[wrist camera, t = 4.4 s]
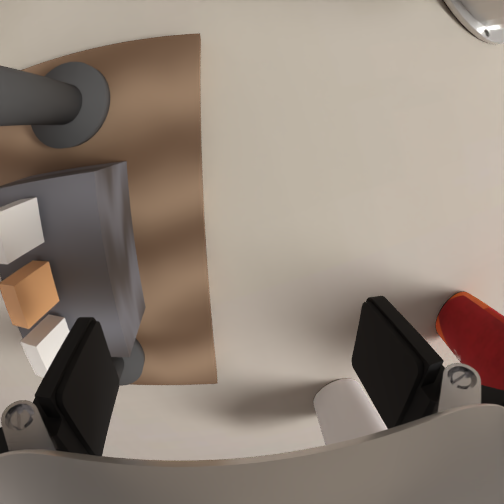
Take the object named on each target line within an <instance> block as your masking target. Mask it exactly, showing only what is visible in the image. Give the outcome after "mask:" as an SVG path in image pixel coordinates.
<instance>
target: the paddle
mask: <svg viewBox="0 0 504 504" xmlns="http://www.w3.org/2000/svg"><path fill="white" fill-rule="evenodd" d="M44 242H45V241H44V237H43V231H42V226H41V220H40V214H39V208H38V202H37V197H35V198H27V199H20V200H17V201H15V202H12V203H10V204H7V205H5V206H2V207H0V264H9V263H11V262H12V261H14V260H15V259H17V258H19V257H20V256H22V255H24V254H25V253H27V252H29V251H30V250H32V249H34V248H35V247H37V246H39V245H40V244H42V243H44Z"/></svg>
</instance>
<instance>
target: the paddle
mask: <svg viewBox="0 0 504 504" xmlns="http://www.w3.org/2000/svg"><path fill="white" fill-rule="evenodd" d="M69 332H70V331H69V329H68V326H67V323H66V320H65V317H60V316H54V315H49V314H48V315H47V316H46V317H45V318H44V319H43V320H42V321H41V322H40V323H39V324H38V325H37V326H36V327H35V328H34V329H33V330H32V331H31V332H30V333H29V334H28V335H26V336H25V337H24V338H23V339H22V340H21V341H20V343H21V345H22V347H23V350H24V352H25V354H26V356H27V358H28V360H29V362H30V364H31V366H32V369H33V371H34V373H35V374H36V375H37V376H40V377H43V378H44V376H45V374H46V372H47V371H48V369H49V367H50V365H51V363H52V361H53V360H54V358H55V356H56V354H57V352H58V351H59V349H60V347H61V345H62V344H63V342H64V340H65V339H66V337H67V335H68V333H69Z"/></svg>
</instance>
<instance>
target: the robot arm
mask: <svg viewBox="0 0 504 504" xmlns="http://www.w3.org/2000/svg"><path fill="white" fill-rule="evenodd" d="M444 1H445V3H446V5H447V6H448V7H449V9H450V10H451V11H452V13H453V14H454V15H455V16H456V18H457V19H458V20H459V21H460V22H461V23H462V24H463V25H464V26H465V27H466V28H467V29H468V30H469V31H470V32H471V33H472V34H474V35H475V36H476V37H477V38H479V39H481V40H482V41H484V42H487V43H489V44H501V43H504V0H444ZM442 364H443V359H442V358H441V357H440V356H439V355H438V354H437V353H436V352H435V350H434V349H433V348H432V347H431V346H430V345H429V344H428V343H427V342H426V341H425V339H424V338H423V337H422V336H421V335H420V334H419V333H418V332H417V331H416V330H415V329H414V328H413V326H412V325H411V324H410V323H409V322H408V321H407V320H406V319H405V318H404V317H403V316H402V315H401V314H400V313H399V312H398V311H397V310H396V308H395V307H394V306H393V305H392V304H391V303H390V302H389V301H388V300H387V299H386V298H385V297H384V296H377V297H370V298H368V299H367V300H366V302H364V303H363V305H362V309H361V315H360V321H359V326H358V331H357V336H356V341H355V346H354V351H353V355H352V366H353V368H354V370H355V372H356V374H357V375H358V377H359V379H360V381H361V382H362V384H363V386H364V388H365V389H366V391H367V393H368V395H369V396H370V398H371V400H372V402H373V404H374V405H375V407H376V409H377V411H378V413H379V414H380V416H381V418H382V420H383V422H384V423H385V425H386V427H387V429H386V430H383V431H380V432H376V433H373V434H369V435H366V436H362V437H358V438H355V439H351V440H347V441H343V442H338V443H334V444H329V445H325V446H320V447H315V448H310V449H304V450H299V451H293V452H286V453H280V454H273V455H265V456H256V457H247V458H235V459H221V460H197V461H162V460H140V459H126V458H114V457H103V456H102V453H103V449H104V444H105V440H106V435H107V431H108V427H109V423H110V419H111V415H112V411H113V407H114V404H115V400H116V396H117V392H118V389H119V377H118V374H117V371H116V369H115V366H114V363H113V360H112V357H111V354H110V352H109V349H108V346H107V342H106V339H105V336H104V333H103V330H102V327H101V324H100V322H99V321H96V320H95V318H94V317H79V318H78V319H77V320H76V322H75V323H74V325H73V327H72V328H71V330H70V332H69V333H68V335H67V337H66V339H65V340H64V342H63V344H62V345H61V347H60V349H59V351H58V352H57V354H56V356H55V358H54V360H53V361H52V363H51V365H50V367H49V369H48V371H47V372H46V374H45V376H44V378H43V380H42V382H41V384H40V386H39V388H38V390H37V392H36V394H35V399H34V401H33V403H32V402H30V401H27V400H20V401H16V402H14V403H12V404H10V405H9V406H8V407H7V408H6V409H5V410H4V412H3V414H2V417H1V424H2V427H1V428H0V504H504V390H500V389H496V388H492V387H488V386H484V385H481V379H480V376H479V374H478V372H477V371H476V370H475V369H474V368H472V367H470V366H469V365H466V364H461V363H454V364H451V365H448V366H447V367H446V368H445V367H444V366H443V365H442Z"/></svg>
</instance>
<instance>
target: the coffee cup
mask: <svg viewBox="0 0 504 504" xmlns="http://www.w3.org/2000/svg"><path fill="white" fill-rule="evenodd" d="M436 330H437V332H438V334H439V335H440V337H441V338H442V339H443V341H444V342H445V343H446V344H447V346H448V347H449V348H450V349H451V351H452V352H453V353H454V354H455V356H456V357H457V358H458V360H459V361H460V362H461V363H462V364H466V365H469V366H470V367H472V368H474V369H475V370H476V371H477V372H478V374H479V376H480V379H481V385H484V386H488V387H492V388H496V389H500V390H504V316H503V315H501V314H500V313H498V312H497V311H495V310H494V309H492V308H491V307H490V306H488V305H487V304H485V303H483V302H482V301H480V300H479V299H477V298H476V297H474V296H472V295H471V294H469V293H467V292H459V293H457V294H455V295H453V296H452V297H451V298H450V299H449V300H448V301H447V302H446V303H445V304H444V306H443V307H442V309H441V310H440V312H439V314H438V317H437V320H436Z"/></svg>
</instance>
